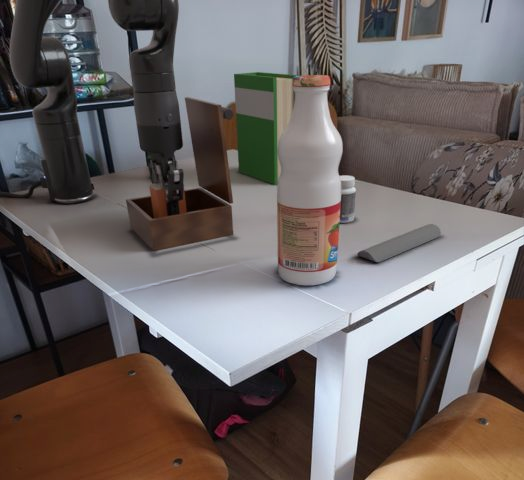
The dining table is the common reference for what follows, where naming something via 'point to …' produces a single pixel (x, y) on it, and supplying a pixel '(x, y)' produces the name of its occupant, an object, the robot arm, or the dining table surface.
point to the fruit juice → (309, 187)
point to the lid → (210, 146)
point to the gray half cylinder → (401, 243)
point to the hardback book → (262, 121)
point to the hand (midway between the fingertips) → (170, 217)
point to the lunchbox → (181, 220)
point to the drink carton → (163, 201)
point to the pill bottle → (347, 199)
